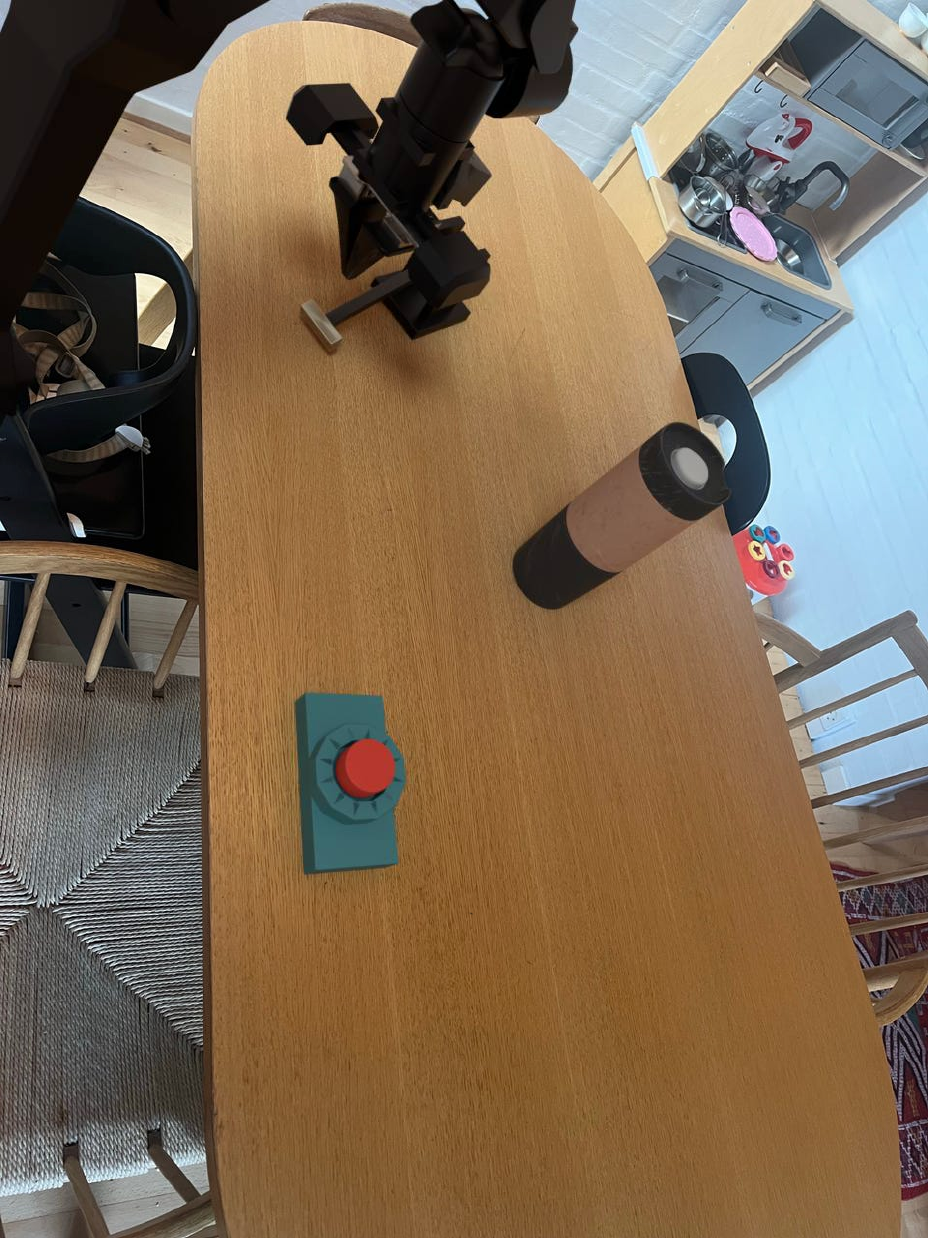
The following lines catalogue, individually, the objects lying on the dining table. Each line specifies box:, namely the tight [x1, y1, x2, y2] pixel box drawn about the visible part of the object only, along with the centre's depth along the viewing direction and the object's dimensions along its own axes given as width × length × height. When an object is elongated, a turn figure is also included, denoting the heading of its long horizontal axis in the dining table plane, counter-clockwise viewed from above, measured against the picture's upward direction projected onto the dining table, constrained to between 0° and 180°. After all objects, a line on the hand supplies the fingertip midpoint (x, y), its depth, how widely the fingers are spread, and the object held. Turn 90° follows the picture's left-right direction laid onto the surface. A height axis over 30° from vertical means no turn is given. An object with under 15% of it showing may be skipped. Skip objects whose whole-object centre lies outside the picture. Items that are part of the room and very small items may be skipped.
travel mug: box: [512, 421, 732, 610], centre depth 66 cm, size 8×8×20 cm
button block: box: [294, 691, 407, 876], centre depth 53 cm, size 12×6×4 cm, turn 9°
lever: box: [299, 231, 460, 353], centre depth 73 cm, size 18×4×2 cm, turn 135°
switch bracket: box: [369, 215, 492, 341], centre depth 77 cm, size 9×7×9 cm
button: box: [336, 739, 395, 798], centre depth 51 cm, size 4×4×2 cm
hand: (348, 276), depth 65 cm, fingers closed
